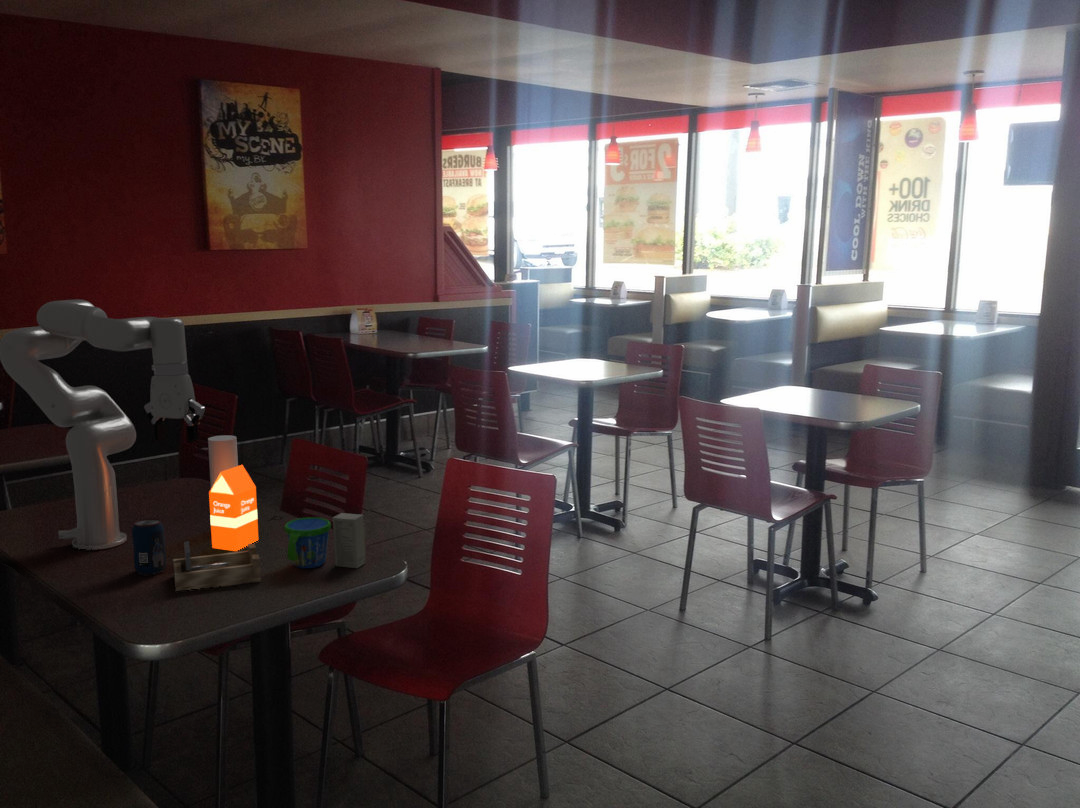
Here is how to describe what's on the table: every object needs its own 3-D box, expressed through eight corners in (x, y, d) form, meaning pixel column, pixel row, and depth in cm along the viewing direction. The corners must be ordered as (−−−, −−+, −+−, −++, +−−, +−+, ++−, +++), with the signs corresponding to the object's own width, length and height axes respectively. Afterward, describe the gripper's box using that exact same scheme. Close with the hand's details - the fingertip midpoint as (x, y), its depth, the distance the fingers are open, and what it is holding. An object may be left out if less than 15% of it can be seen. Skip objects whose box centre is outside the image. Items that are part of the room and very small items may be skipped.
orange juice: (211, 548, 233) (206, 470, 230) (234, 537, 241) (230, 463, 238) (237, 551, 231) (233, 473, 227) (259, 541, 239) (255, 465, 235)
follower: (187, 583, 205) (185, 552, 204) (185, 570, 213) (184, 541, 212) (229, 577, 209) (228, 548, 208) (227, 565, 216) (225, 537, 215)
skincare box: (366, 563, 222) (365, 514, 220) (357, 569, 218) (355, 519, 216) (343, 560, 225) (341, 511, 222) (333, 566, 220) (332, 516, 218)
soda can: (143, 565, 220) (139, 517, 218) (171, 566, 220) (168, 517, 218) (129, 576, 213) (125, 526, 211) (159, 576, 213) (155, 526, 211)
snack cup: (308, 578, 213) (306, 535, 211) (270, 571, 216) (268, 530, 215) (346, 557, 227) (345, 517, 225) (310, 551, 231) (308, 512, 229)
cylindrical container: (236, 533, 245) (231, 441, 240) (209, 533, 245) (203, 440, 241) (245, 525, 252) (240, 435, 248) (219, 525, 252) (213, 435, 248)
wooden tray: (175, 592, 203) (174, 568, 202) (174, 575, 214) (173, 552, 213) (260, 581, 210) (259, 558, 209) (255, 565, 220) (254, 543, 220)
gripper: (130, 371, 220) (137, 441, 223) (189, 373, 214) (195, 445, 217) (153, 367, 227) (160, 435, 230) (211, 369, 221) (216, 439, 224)
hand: (177, 440), depth 223 cm, fingers open, 9 cm apart
